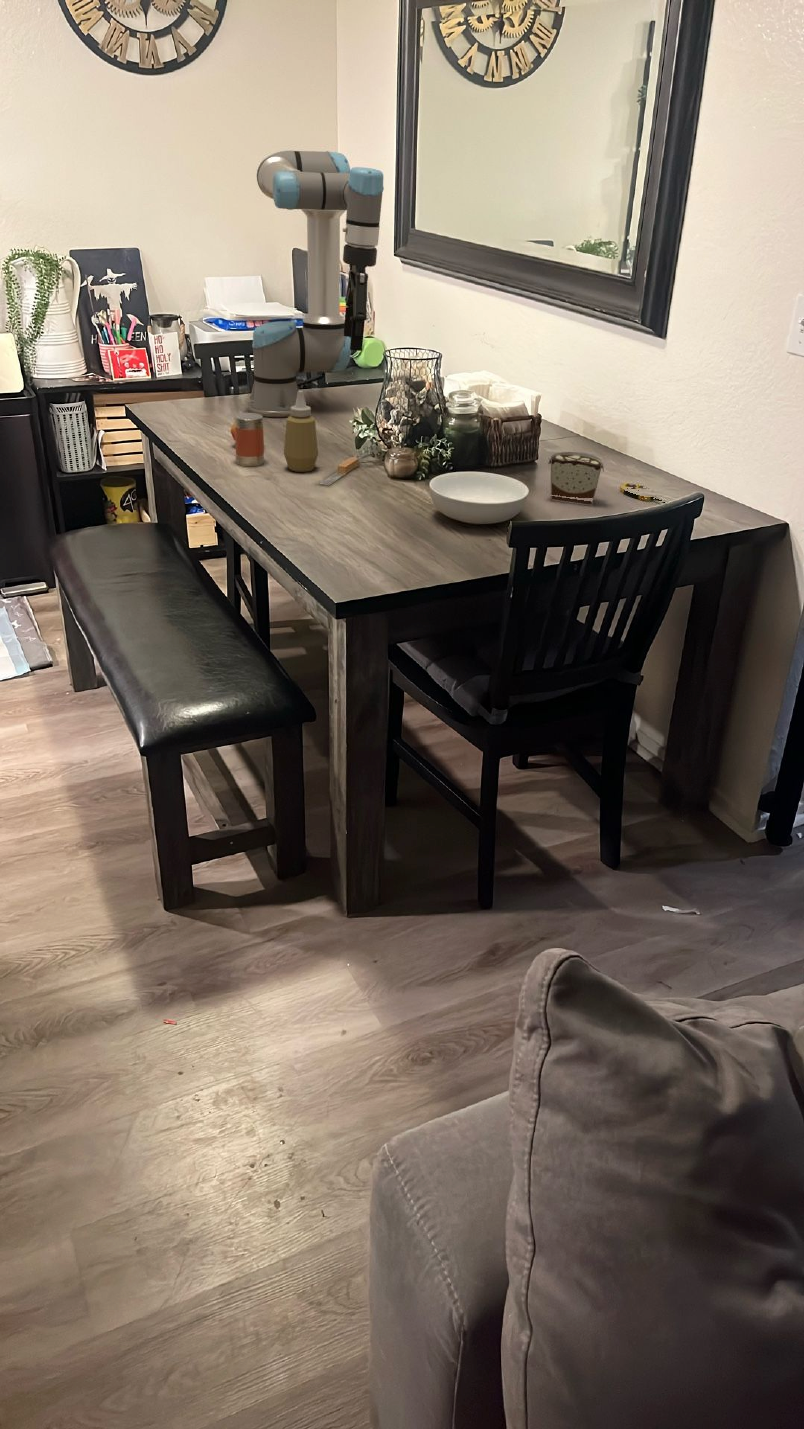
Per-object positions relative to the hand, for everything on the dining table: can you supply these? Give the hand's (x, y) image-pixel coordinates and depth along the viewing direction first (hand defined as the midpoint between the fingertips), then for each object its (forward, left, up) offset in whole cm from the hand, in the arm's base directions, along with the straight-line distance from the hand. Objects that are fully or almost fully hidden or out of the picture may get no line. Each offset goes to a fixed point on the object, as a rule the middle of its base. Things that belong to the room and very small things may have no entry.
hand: (352, 343), depth 249 cm
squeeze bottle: (+15, -6, -27) cm, 32 cm away
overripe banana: (-1, +73, -27) cm, 78 cm away
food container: (+7, +58, -27) cm, 64 cm away
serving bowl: (+29, +42, -27) cm, 58 cm away
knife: (+15, +4, -27) cm, 31 cm away
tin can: (+16, -19, -27) cm, 37 cm away
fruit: (+4, -26, -27) cm, 38 cm away
